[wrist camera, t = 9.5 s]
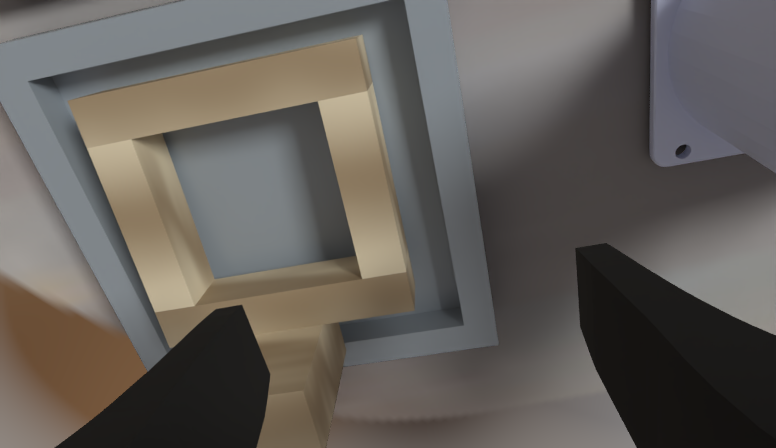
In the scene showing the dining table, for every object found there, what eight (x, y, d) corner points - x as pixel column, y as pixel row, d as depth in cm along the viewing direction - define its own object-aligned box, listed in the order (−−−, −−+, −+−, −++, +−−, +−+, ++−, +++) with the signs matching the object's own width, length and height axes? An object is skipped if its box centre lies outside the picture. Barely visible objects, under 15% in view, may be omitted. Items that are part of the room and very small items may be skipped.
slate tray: (435, -60, 17) (438, -59, 15) (492, 313, 23) (498, 344, 22) (13, 39, 19) (-28, 50, 17) (176, 360, 25) (159, 392, 23)
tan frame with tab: (426, 338, 21) (429, 443, 16) (210, 370, 23) (150, 477, 17) (362, 34, 17) (338, 47, 12) (102, 90, 18) (-19, 124, 13)
